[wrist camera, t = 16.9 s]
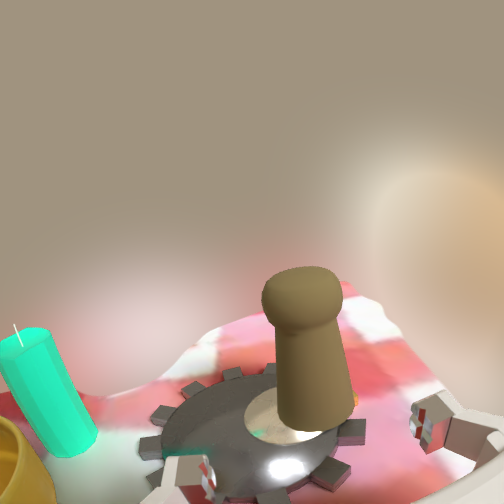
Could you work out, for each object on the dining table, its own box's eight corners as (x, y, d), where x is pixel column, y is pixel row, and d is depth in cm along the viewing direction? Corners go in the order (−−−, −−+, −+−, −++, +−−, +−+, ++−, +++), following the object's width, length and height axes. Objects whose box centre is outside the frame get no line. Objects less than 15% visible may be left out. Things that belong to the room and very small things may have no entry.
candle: (48, 425, 24) (-4, 320, 21) (97, 413, 26) (49, 305, 24) (43, 462, 18) (-25, 345, 16) (99, 450, 21) (36, 328, 18)
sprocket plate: (236, 572, 10) (231, 567, 10) (114, 432, 23) (108, 423, 23) (406, 404, 21) (407, 393, 21) (257, 354, 34) (255, 344, 34)
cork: (275, 389, 25) (251, 267, 23) (345, 376, 25) (334, 252, 23) (278, 438, 19) (248, 297, 17) (363, 422, 19) (358, 277, 17)
